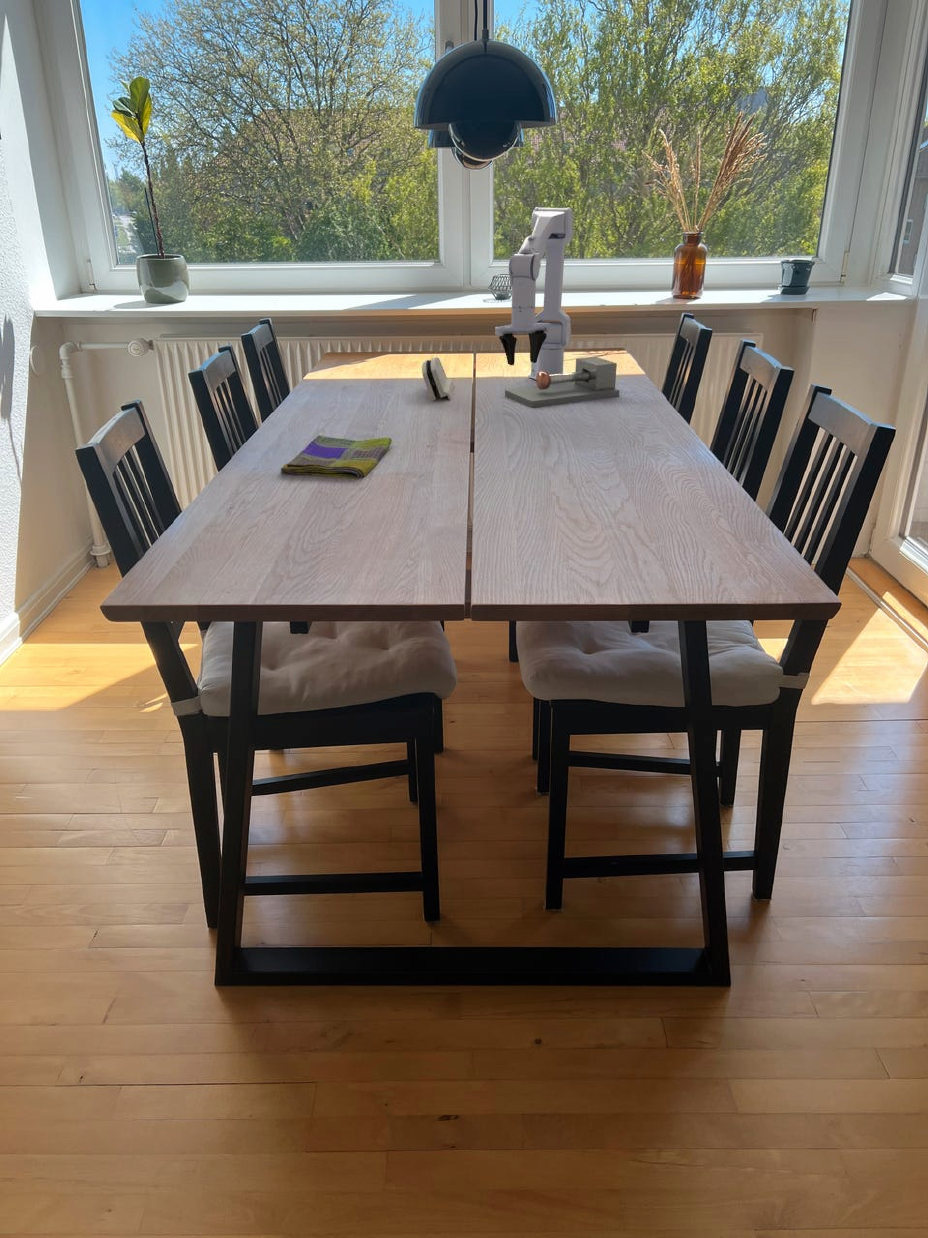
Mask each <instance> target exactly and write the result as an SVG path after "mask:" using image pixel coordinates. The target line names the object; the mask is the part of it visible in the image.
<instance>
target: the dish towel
mask: <svg viewBox="0 0 928 1238" xmlns="http://www.w3.org/2000/svg"><path fill="white" fill-rule="evenodd" d="M392 441H393V440H392V438H391V437H379V438H372V439H370V438H369V439H365V440H354V439H353V440H352V439H347V438H337V437H330V436H324V435H321V434H319V435H317V436H316V437H315V438H314V439H313V440H312V441H310V443H309V444H308V445H307V446H306V447H305V448H304V449H303V450H302V451H300V452H299V454H297V455H296V456H295V457H294V458H293V459H292V460H290V461H289V462H288V463H286V464H284V465H283V466H282V467H281V468H280V472H282V473H286V474H293V473H300V474H299V475H306V474H312V475H311V476H320V475H322V476H324V477H330V476H331V478H343V479H362V478H365V477H366V475H369V473H370V472H372V470H374V469H375V467H376V466H377V465H379V463H380V462H381V461H382V459H383V458H384V456H385V455H386V453H387V452H388V450H389V448H390V446H391V444H392Z"/></svg>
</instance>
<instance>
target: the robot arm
mask: <svg viewBox="0 0 928 1238" xmlns="http://www.w3.org/2000/svg"><path fill="white" fill-rule="evenodd" d="M530 220H531V230H532V233H531V235H528V236H527V237H525V238H524V241H523V242H522V244H521V246H520V248H519V250H518V252H517V253H514V255H511V257H510V258H509V262H508V274H509V284H510V287H511V322H510V323H511V324H507V325H506V324H505V325H501V326H495V327H494V336H497V337H498V339H499V340H500V342H501V345H502V347H503V350H504V352H505V356H506V361H507V365H509V366H514V365H515V363H516V362H515V360H516V359H515V354H516V346H517V342H518V341H517V340H518V338H517V337H515V336H514V335H519V334H521V335H522V334H528V338H529V339H528V340H529V360H530V374H528V375H527V378H531V379H533V380H535V381H536V376H537V374H538V373H539V372H547V373H548V374H549V375H554V374H563V373H564V357H565V348H566V347H567V346H568V345H569V344H570V341H571V338H572V327H571V321H572V320H571V317H570V316H569V315H568V314H567V313H566V312H565V311H564V310H563V309H562V299H563V298H562V297H563V281H564V280H563V279H564V265H565V264H564V263H565V252H566V251H565V250H566V247H567V246H566V245H567V244H568V243H570V242H572V241H573V235H574V223H575V221H574V220H575V218H574V211H573V210H572V208H571V207H540V206H535V208H534V209H533V211H532V213H531V219H530ZM545 253H546V255H545V257H546V259H545V274H544V290H543V291H544V292H543V309H542V310H540V311H539V312H538V313H536V292H537V291H536V290H537V287H536V285H537V279H538V278H539V274H540V269H541V266H542V265H541V264H542V263H541V260H542V259H543V257H544V254H545Z"/></svg>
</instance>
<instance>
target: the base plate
mask: <svg viewBox="0 0 928 1238" xmlns="http://www.w3.org/2000/svg"><path fill="white" fill-rule="evenodd" d="M504 396H505V397H507V398H508V399H509V398H510V399H512V400H514V401H516V402H518V403H521V404H523V405H525V406H528V407H530V408H537V407H545V406H553V405H559V404H560V405H561V404H566V403H567V404H568V403H570V404H571V403H574V402H575V403H576V402H583V401H584V402H585V401H591V400H599V399H600V400H601V399H606V398H607V399H608V398H615V397H619V396H620V389H617V388H615V389H609V390H601V391H594V390H591V389H588V388H586V387H583V386H580V385H578V384H575V382H569V383H560V384H552V385H550V386H549V388H548V389H544V390H540V389H539V388H538V387H537V385H536V386H534V385H533V386H526V387H520V388H519V387H517V388H510V389H505V390H504Z"/></svg>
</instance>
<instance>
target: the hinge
mask: <svg viewBox="0 0 928 1238" xmlns="http://www.w3.org/2000/svg"><path fill="white" fill-rule="evenodd" d="M421 372H422V377H423V381H424V383H425V387H426V389H427V391H428V394H429V397H430V400H431V401H435V400H437V398H440V399H441V398H443V397H447V398H448V401H451V400H452V399H453V398H452V397H453V393H454V389H455V385H454V382H453V380H452V379H451V378H448V377H447V375H446V373H445V369H444V367H443V365H442V361H441V359H440V358H439V357H432V358H431V359H430V360H429V359H427V360H425V361H423V362H422V365H421Z"/></svg>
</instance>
